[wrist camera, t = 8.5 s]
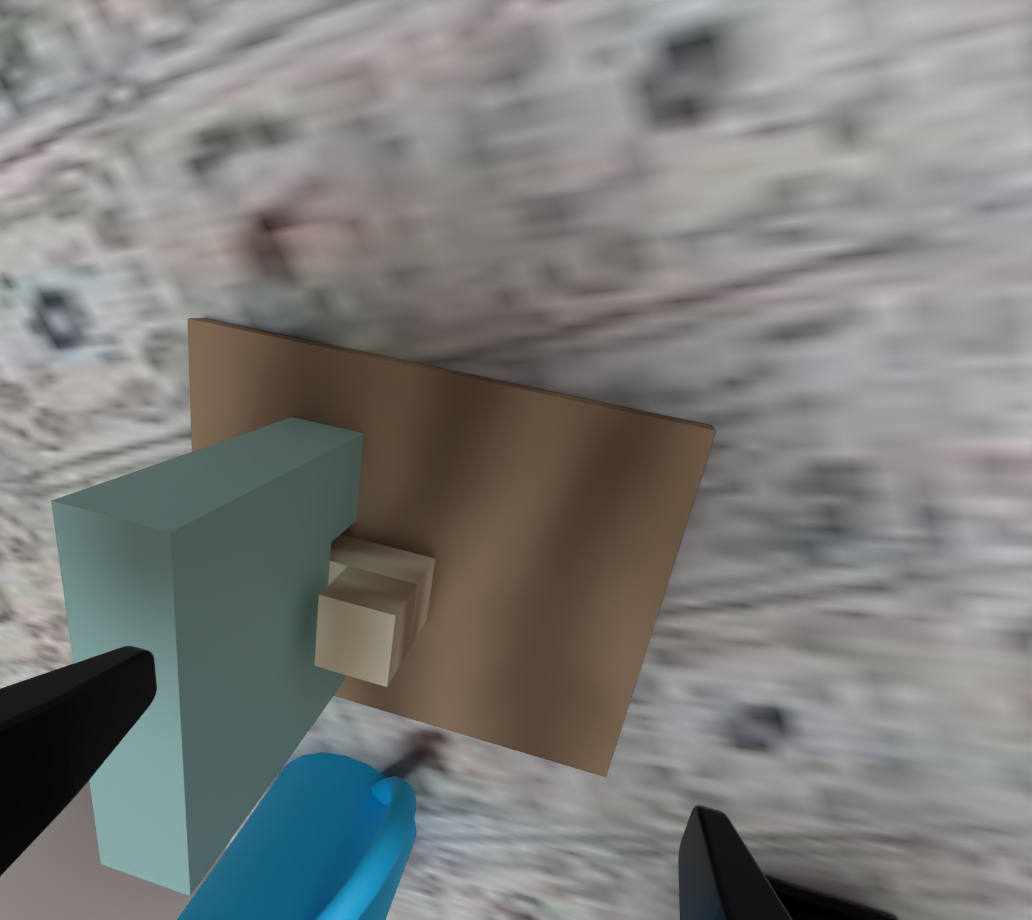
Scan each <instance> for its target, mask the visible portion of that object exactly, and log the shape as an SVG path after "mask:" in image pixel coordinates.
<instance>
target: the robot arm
mask: <svg viewBox="0 0 1032 920" xmlns="http://www.w3.org/2000/svg"><path fill="white" fill-rule="evenodd" d="M156 692H157V681H156V671H155V660H154V655H153V654H152V653H151V652H150V651H148V650H145V649H141V648H138V647H134V646H124V647H121V648H118V649H115V650H112V651H109V652H106V653H103V654H100V655H97V656H94V657H92V658H89V659H86V660H83V661H80V662H77V663H74V664H71V665H68V666H65V667H62V668H59V669H56V670H54V671H51V672H48V673H45V674H42V675H39V676H36V677H33V678H30V679H27V680H24V681H21V682H19V683H16V684H13V685H10V686H7V687H4V688H1V689H0V876H1V875H2V874H3V873H4V872H5V871H6V870H7V868H9V867H10V865H11V864H12V863H13V862H14V861H15V860H16V859H17V858H18V857H19V856H20V855H21V854H22V853H23V852H24V851H25V850H26V848H27V847H28V846H29V845H30V844H31V843H32V842H33V841H34V840H35V839H36V838H37V837H38V836H39V835H40V834H41V833H42V832H43V830H45V828H46V827H47V826H48V825H49V824H50V823H51V822H52V821H53V820H54V819H55V818H56V817H57V816H58V815H59V814H60V813H61V811H62V810H63V809H64V808H65V807H66V806H67V805H68V804H69V803H70V802H71V801H72V800H73V798H74V797H75V796H76V795H77V794H78V793H79V792H80V790H81V789H82V788H83V787H84V786H85V784H86V783H87V782H88V781H89V780H90V779H91V777H92V776H93V775H94V774H95V773H96V771H97V770H98V769H99V768H100V766H101V765H102V764H103V763H104V761H105V760H106V759H107V758H108V757H109V755H110V754H111V753H112V752H113V750H114V749H115V748H116V747H117V746H118V744H119V743H120V742H121V741H122V739H123V738H124V737H125V736H126V734H127V733H128V732H129V731H130V730H131V728H132V727H133V726H134V725H135V723H136V722H137V721H138V720H139V719H140V717H141V716H142V715H143V714H144V712H145V711H146V710H147V709H148V708H149V706H150V705H151V703H152V702H153V700H154V698H155V695H156ZM678 864H679V903H680V920H895V919H892V918H888V917H885V916H882V915H879V914H876V913H872V912H869V911H866V910H863V909H859V908H856V907H853V906H850V905H847V904H843V903H840V902H837V901H834V900H831V899H827V898H824V897H821V896H818V895H815V894H811V893H808V892H805V891H802V890H798V889H795V888H792V887H789V886H786V885H782V884H779V883H776V882H773V881H770V880H767V879H766V877H765V875H764V874H763V872H762V871H761V869H760V867H759V866H758V864H757V863H756V861H755V859H754V858H753V856H752V855H751V853H750V852H749V850H748V848H747V847H746V845H745V844H744V842H743V840H742V839H741V837H740V836H739V834H738V832H737V831H736V829H735V828H734V826H733V825H732V823H731V821H730V820H729V818H728V817H727V816H726V815H725V814H724V813H723V812H721V811H718V810H715V809H711V808H708V807H704V806H701V805H697V806H695V807H694V808H693V810H692V812H691V815H690V818H689V820H688V823H687V826H686V829H685V832H684V834H683V837H682V840H681V843H680V848H679V859H678Z"/></svg>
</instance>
